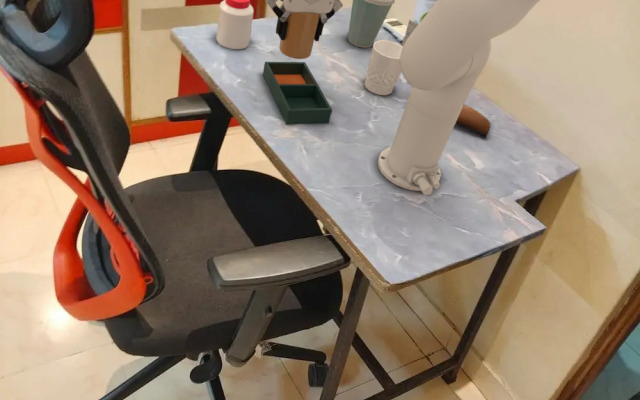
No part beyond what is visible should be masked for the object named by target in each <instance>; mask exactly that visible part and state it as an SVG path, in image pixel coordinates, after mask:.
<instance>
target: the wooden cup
mask: <svg viewBox="0 0 640 400" xmlns="http://www.w3.org/2000/svg"><path fill="white" fill-rule="evenodd" d="M319 16H320V14H318V13H304V12H298V13H295V12H291V14H290V15H289V16H288V18H287V19H286V21H287V22H288V26H287V31H286V36H285V40H281V39H280V42H279V52H280V53H282V54H283V55H284V56H286V57H288V58H290V59H294V60H304V59H308V58H310V57H311V55H312V51H313V46H314V43H315V40H314V38H315V34H316V29H317V25H318V20H319Z"/></svg>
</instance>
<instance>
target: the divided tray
mask: <svg viewBox="0 0 640 400" xmlns="http://www.w3.org/2000/svg"><path fill="white" fill-rule="evenodd" d="M262 77H263V79H264V81H265V84H266V85H267V88H268V90H269V92H270V94H271V96H272V98H273V100H274V102H275V105H276V107H277V109H278V111H279V113H280V116H281V117H282V120H283V121H284V124H285V125H286V126H289V125H291V126H292V125H317V124H318V125H319V124H320V125H321V124H329V123H330V120H331V115H332V112H333V108H332V106H331V104H330V103H329V101H328V99H327V98H326V96H325V94H324V93H323V91H322V89H321V87H320V85H319V84H318V82H317V79H315V77H314V75H313V73H312V71H311V70H310V68H309V66H308V65H307V63H306V61H264V64H263V71H262Z"/></svg>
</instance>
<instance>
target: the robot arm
mask: <svg viewBox="0 0 640 400" xmlns="http://www.w3.org/2000/svg"><path fill="white" fill-rule="evenodd" d="M265 1H266V3H267V4H268V6H269V7H270V9H271V10H272V12H273V13H274V14H275V16H276V18H277V22H276V28H275V32H276V35H277V36H278V37H279V39H280V41H281V40H285V36H286V31H287V26H288V22H287V21H286V19H287V18H288V16H289V15H290V14H291V12H295V13H298V12H304V13H318V14H320V16H319V20H318V25H317V29H316V34H315V38H314V42H320V37H321V36H322V34H323V31H324V30H323V29H324V27H325V24H327V23H328V20H330V18H332V17H334V16H335V14H336V13H337V12H338V11H339V10H340V9H342V8H343V6H344V4H343V2H342V1H341V0H279V1H280V2H282V3H281V5H280V6H278V5H277V2H278V0H265ZM540 1H541V0H437V1H436V2H435V3H434V4H433V6H432V7H431V8H430V10H428V12H427V13H426V14H425V15H424V17H423V18H422V20H421V21H420V22H419V23H417V24H418V26H417V27H416V28H415V29H414V31H413V32H412V33H411V35H410V36H409V37H408V39H407V40H406V42H405V44H404V46H403V48H402V52H401V56H400V66H401V74H402V76H403V78H404V80H405V81H406V82H407V83H408V84H409V85H410V86H412V88H411V91H410V94H409V95H408V99H407V100H406V101H407V102H406V103H405V107H404V109H403V112H402V115H401V118H400V121H399V123H398V126H397V129H396V131H395V134H394V137H393V140H392V143H391V145H390V146H388V147H386V148H384V149H383V150H381V152H380V153H379V154H378V155H379V156H378V158H377V166H378V169H379V171H380V173H381V174H382V175H383V176H384V178H386V180H388V182H391V183H392V184H393V185H395V186H398V187H400V188H402V189H404V190H409V191H415V192H422V194H423V195H424V196H429V195H431V194H432V193H433V192H434V190H437V189H439V188H440V187H441V183H440V181H441V177H442V171H441V168H440V166H439V162H440V160H441V158H442V155H443V153H444V151H445V148H446V146H447V143H448V141H449V140H450V138H451V137H450V136H452V135H451V134H452V132H453V130H454V128H455V126H456V121H457V119H458V116H459V114H460V112H461V110H462V108H463V106H464V105H465V103H466V101H467V100H468V97H469V95H470V93H471V91H472V89H473V87H474V85H475V84H476V82H477V81H478V79H479V78H480V76H481V74H482V72H483V70H484V69H485V67H486V66H487V63H488V61H489V57H490V55H491V49H492V39H494V38H496V37H498V36H501V35H503V34H505V33H506V32H508V31H510V30H512V29H513V28H515V27H516V26H517V25H518V24H520V23H521V22H522V21H523V19H524V18H525V17H526V16H527V15H528V14H529V13H530V11H531V10H532V9H533V8H534V7H535V6H536V5H537V4H538V3H539V2H540Z"/></svg>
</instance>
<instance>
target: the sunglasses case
mask: <svg viewBox="0 0 640 400" xmlns="http://www.w3.org/2000/svg"><path fill="white" fill-rule="evenodd" d="M455 125H459V126H461V127H463V128H466V129H469V130H471V131H474V132H475V133H476V132H477V133H478V134H481V135H482V136H483V135H484V136H485V137H488V134H489V132H490V130H491V129H490V128H491V122H490V121H489V119H488V118H487V117H486V116H484V115H483V114H482V113H480V112H479V111H478V110H476V109H475V108H472V107H471V106H469V105H466V104H464V106H463V108H462V110H461V112H460V114H459V116H458V119H457V121H456V123H455Z"/></svg>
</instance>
